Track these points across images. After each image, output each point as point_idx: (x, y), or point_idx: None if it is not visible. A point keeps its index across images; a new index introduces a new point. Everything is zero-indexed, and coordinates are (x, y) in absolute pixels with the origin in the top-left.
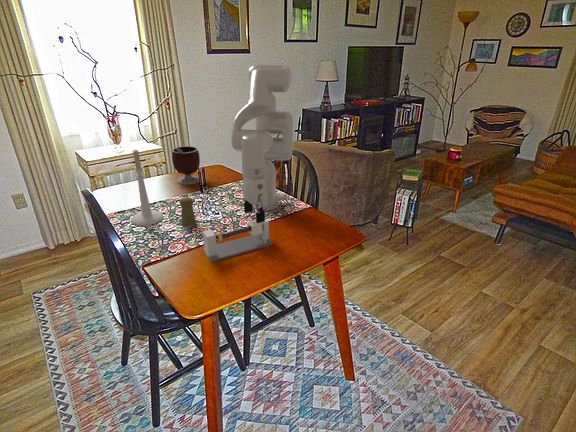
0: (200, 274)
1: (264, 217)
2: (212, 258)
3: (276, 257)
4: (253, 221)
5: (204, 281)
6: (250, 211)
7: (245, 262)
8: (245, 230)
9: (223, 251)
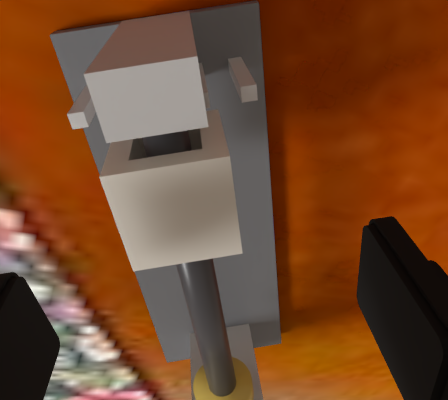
0: (335, 363)
1: (420, 257)
2: (269, 339)
3: (424, 42)
4: (143, 224)
5: (382, 356)
6: (30, 301)
7: (358, 222)
8: (212, 268)
9: (230, 300)
